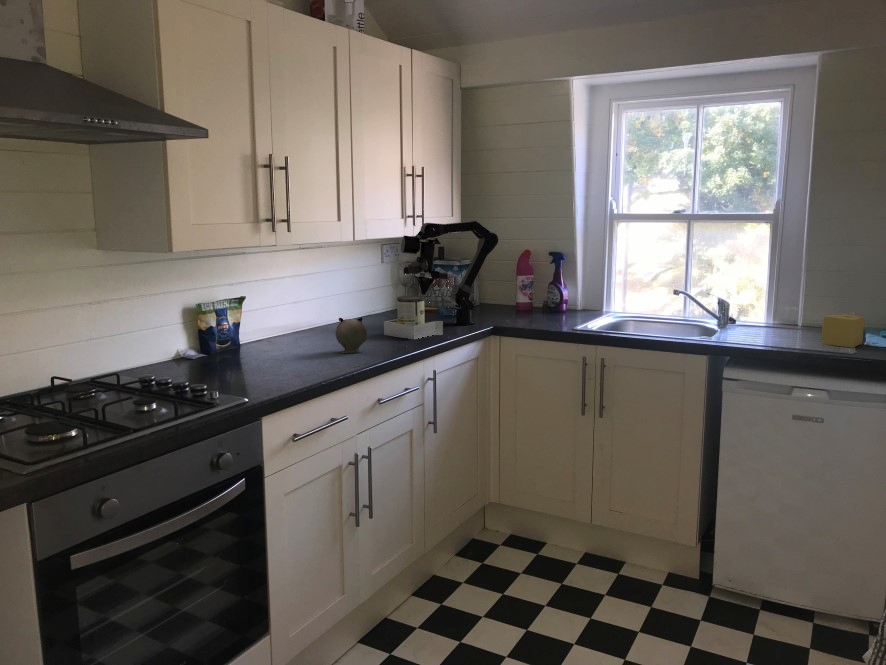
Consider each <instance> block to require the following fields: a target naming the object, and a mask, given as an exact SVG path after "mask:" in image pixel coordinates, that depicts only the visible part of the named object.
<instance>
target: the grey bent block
mask: <svg viewBox="0 0 886 665" xmlns="http://www.w3.org/2000/svg"><path fill="white" fill-rule="evenodd" d="M443 326H444V322H443V320H437V321H430V322H429V321H427V322H425V323H422V324H417V325H409V324H403V321H398V318H396V319H390V320H385V321H384V320H383V335H384V336H388V337H389V336H390V337H396V338H401V339H402V338H403V339H407V338H408V339H407V340H413V339H414V340H419V339H422V337H424V338H427V336H429V337H433V336H432V335H434V336H443V334H444V333H443V331H444V329H443V328H444V327H443ZM418 338H419V339H418Z"/></svg>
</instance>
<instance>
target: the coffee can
mask: <svg viewBox="0 0 886 665" xmlns="http://www.w3.org/2000/svg"><path fill="white" fill-rule="evenodd" d="M396 303H397V304H396V305H397V307H396V308H397V312H396V313H397V319H398V321H403V324H409V325H417V324H422V323H426V321H425V296H422V295H402V296H397V297H396Z"/></svg>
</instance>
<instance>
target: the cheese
mask: <svg viewBox="0 0 886 665" xmlns="http://www.w3.org/2000/svg"><path fill="white" fill-rule="evenodd" d="M864 327H865V316H864V315H856V314H847V313H846V314H826V315H824V316H823V320H822V324H821V341H822V342H821V344H822V345H826V346H836V347H844V348H852V349H853V348H855V347H857V346H859V345H862V344H863V337H864Z"/></svg>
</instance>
